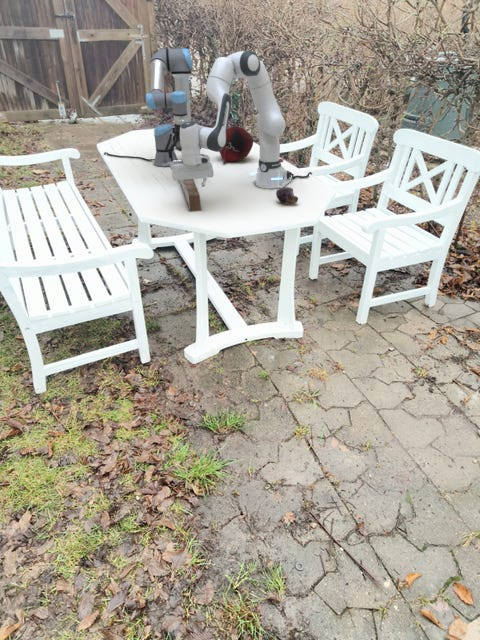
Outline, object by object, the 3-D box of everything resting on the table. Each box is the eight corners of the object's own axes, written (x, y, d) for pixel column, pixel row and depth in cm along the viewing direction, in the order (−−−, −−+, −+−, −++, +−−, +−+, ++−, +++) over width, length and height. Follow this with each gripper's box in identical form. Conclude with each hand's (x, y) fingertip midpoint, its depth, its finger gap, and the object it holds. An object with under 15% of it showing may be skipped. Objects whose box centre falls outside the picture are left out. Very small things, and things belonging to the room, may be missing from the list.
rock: (287, 200, 238) (271, 203, 234) (287, 184, 235) (271, 186, 231) (300, 203, 229) (283, 206, 225) (300, 186, 225) (283, 189, 221)
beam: (180, 179, 266) (179, 166, 261) (189, 179, 267) (188, 166, 262) (190, 211, 224) (188, 195, 220) (200, 210, 225) (199, 195, 221)
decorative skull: (214, 132, 305) (214, 129, 282) (248, 124, 304) (250, 121, 281) (221, 164, 312) (221, 164, 288) (254, 157, 311) (257, 156, 288)
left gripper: (158, 126, 239) (162, 166, 252) (204, 123, 243) (206, 163, 256) (157, 122, 245) (161, 162, 258) (202, 120, 249) (204, 159, 262)
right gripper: (170, 162, 210) (173, 191, 218) (213, 158, 214) (214, 187, 221) (169, 159, 215) (172, 187, 223) (211, 155, 219) (212, 183, 227)
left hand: (184, 162), depth 257 cm, fingers open, 13 cm apart
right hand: (193, 187), depth 222 cm, fingers open, 8 cm apart
